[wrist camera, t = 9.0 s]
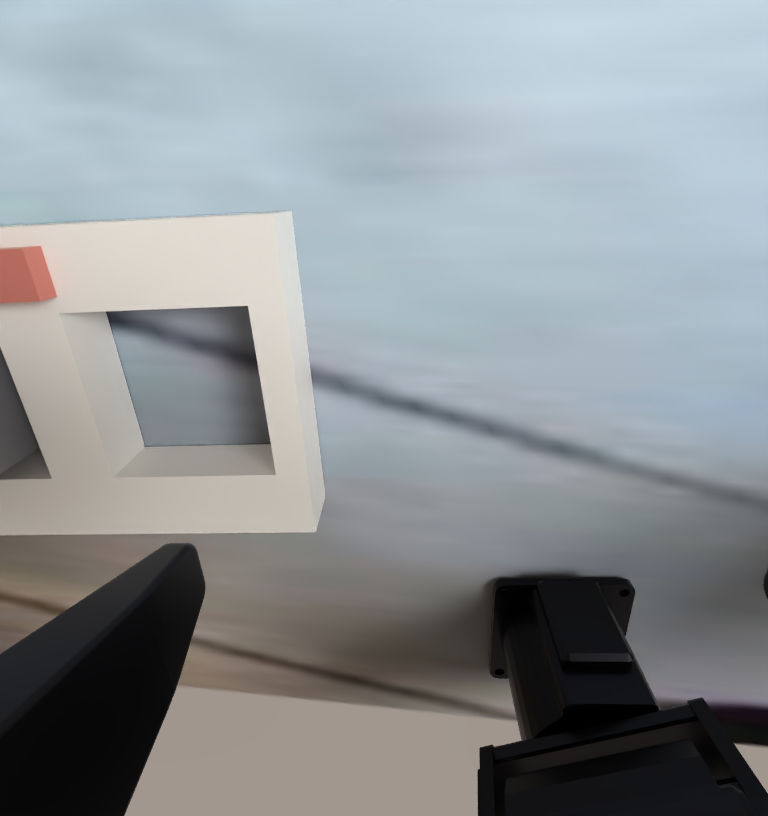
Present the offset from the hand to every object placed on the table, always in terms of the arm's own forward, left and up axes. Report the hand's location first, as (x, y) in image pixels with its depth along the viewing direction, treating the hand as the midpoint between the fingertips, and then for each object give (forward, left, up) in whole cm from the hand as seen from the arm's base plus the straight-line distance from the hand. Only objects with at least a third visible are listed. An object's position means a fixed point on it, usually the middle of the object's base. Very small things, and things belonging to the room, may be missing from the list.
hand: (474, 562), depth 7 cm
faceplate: (-1, +14, -12) cm, 18 cm away
